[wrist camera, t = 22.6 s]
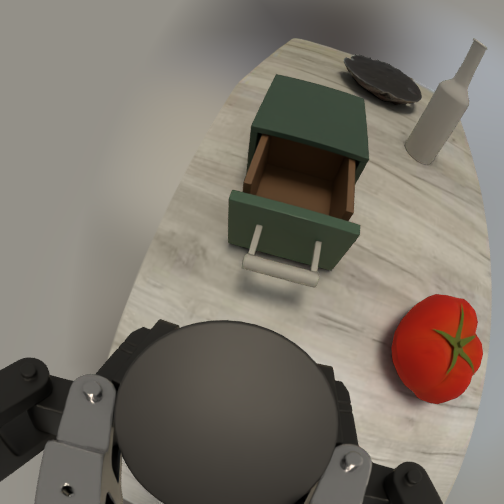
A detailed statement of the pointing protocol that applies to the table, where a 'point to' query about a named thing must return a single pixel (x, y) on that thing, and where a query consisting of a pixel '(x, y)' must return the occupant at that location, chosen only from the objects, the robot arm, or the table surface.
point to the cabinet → (313, 119)
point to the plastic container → (225, 416)
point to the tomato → (437, 348)
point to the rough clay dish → (383, 80)
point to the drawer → (294, 209)
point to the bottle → (444, 110)
